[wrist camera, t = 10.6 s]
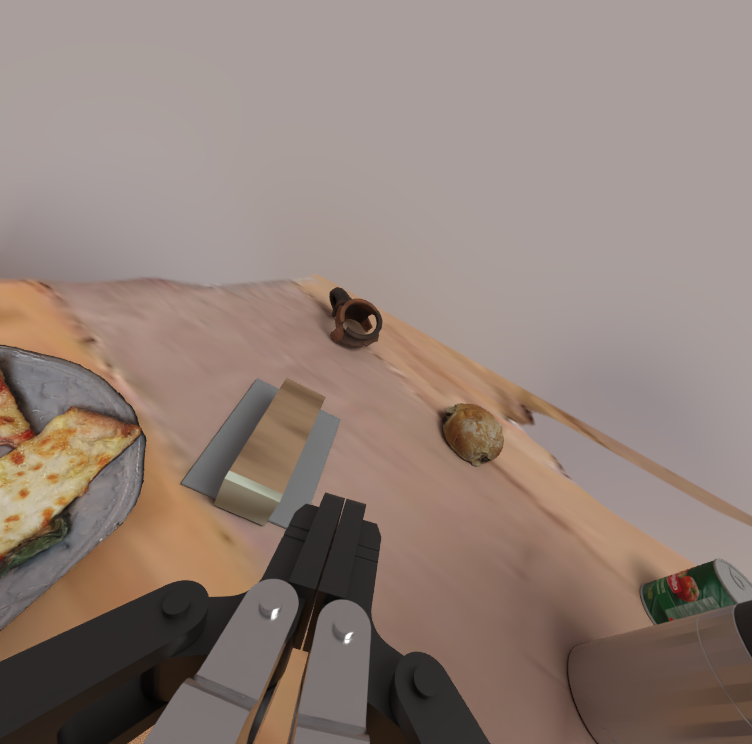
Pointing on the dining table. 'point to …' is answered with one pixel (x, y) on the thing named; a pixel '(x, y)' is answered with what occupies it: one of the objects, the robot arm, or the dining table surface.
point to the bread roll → (473, 433)
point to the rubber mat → (235, 436)
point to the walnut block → (270, 454)
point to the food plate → (59, 470)
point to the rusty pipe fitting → (355, 311)
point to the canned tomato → (695, 591)
